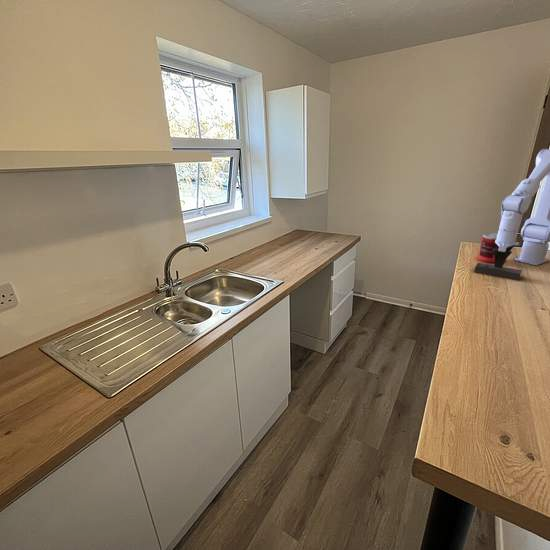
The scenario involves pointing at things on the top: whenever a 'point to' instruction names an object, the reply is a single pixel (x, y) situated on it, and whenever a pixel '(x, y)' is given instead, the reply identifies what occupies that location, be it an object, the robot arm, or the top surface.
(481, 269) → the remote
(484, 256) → the canned food
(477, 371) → the top surface
